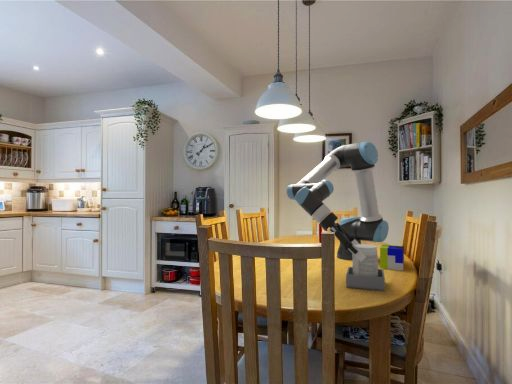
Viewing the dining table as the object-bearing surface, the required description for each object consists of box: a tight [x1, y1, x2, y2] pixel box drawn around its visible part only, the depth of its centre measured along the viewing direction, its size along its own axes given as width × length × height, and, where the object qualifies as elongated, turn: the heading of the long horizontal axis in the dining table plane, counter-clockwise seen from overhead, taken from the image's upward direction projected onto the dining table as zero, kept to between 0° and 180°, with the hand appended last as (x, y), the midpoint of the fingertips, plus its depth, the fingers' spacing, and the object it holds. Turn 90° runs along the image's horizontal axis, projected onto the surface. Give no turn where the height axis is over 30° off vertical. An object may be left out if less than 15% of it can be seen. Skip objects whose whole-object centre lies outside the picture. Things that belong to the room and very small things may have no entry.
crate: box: [345, 266, 386, 292], centre depth 120 cm, size 14×14×5 cm
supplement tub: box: [351, 243, 379, 277], centre depth 121 cm, size 10×10×15 cm
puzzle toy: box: [379, 244, 405, 271], centre depth 150 cm, size 10×10×10 cm
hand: (363, 255), depth 120 cm, fingers open, 13 cm apart
